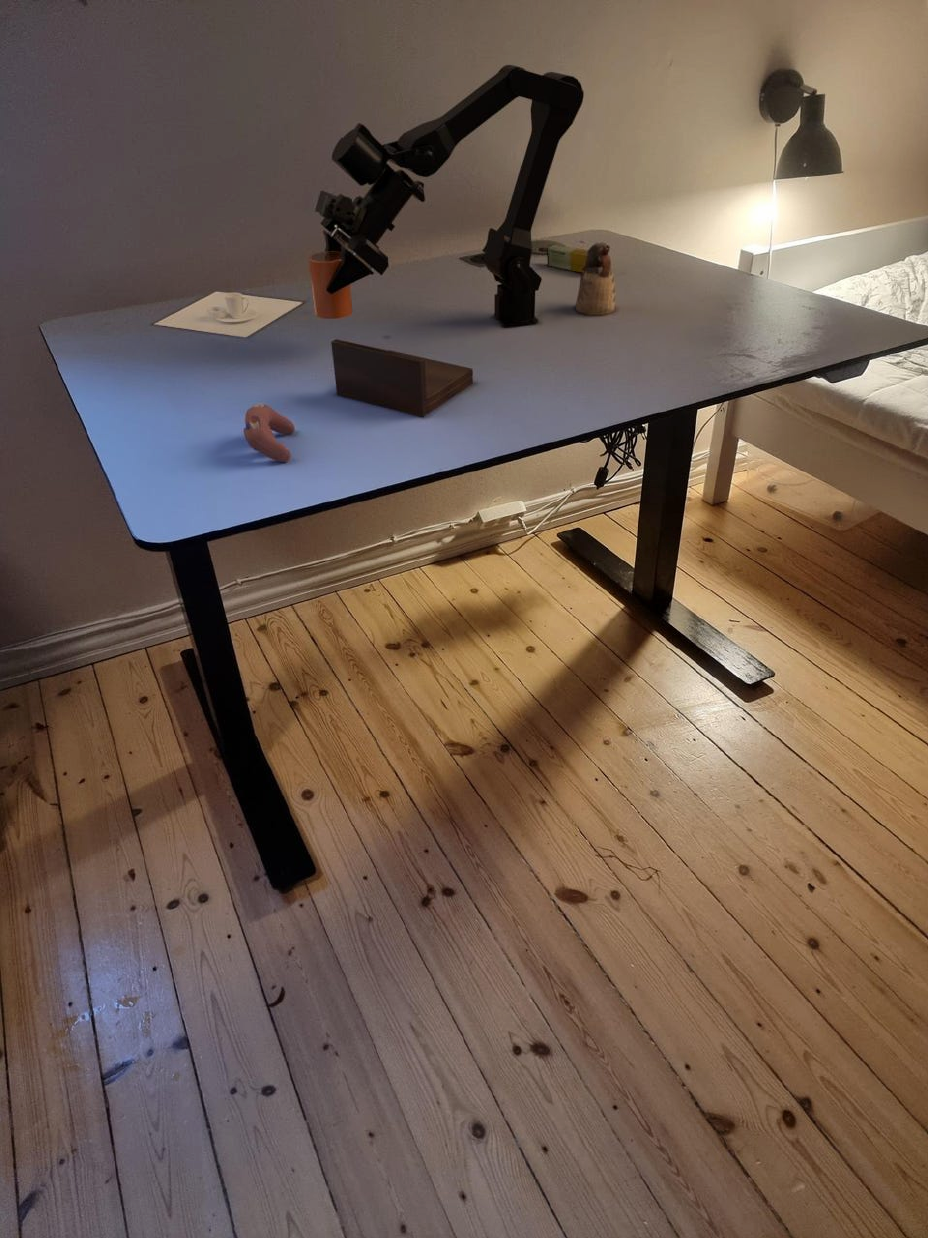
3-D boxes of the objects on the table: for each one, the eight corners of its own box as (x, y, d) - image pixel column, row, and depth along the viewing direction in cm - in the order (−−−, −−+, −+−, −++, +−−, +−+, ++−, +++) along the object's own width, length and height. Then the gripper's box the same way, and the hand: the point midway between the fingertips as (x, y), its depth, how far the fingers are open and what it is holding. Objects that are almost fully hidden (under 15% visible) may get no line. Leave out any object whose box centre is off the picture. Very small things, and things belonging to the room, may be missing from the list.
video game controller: (271, 442, 128) (242, 403, 124) (298, 428, 127) (269, 387, 123) (265, 475, 120) (233, 434, 116) (293, 460, 119) (262, 418, 115)
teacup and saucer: (202, 321, 164) (198, 298, 162) (227, 307, 170) (223, 285, 168) (242, 326, 162) (239, 304, 159) (266, 312, 168) (263, 290, 165)
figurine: (604, 301, 170) (609, 235, 162) (621, 312, 164) (627, 245, 157) (570, 305, 168) (573, 239, 161) (586, 317, 163) (590, 249, 155)
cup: (358, 307, 150) (352, 251, 144) (343, 320, 145) (337, 262, 139) (324, 305, 151) (317, 249, 146) (309, 317, 146) (301, 260, 141)
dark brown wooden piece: (390, 364, 147) (386, 312, 141) (473, 383, 140) (472, 330, 135) (336, 395, 137) (330, 341, 132) (422, 417, 130) (420, 361, 125)
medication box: (546, 266, 188) (545, 246, 186) (554, 262, 190) (553, 242, 187) (593, 275, 182) (593, 255, 179) (601, 270, 183) (601, 251, 180)
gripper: (325, 159, 143) (269, 240, 146) (362, 181, 129) (298, 270, 133) (376, 205, 150) (321, 282, 154) (415, 232, 137) (354, 314, 140)
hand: (322, 286), depth 145 cm, fingers closed on cup, 6 cm apart
